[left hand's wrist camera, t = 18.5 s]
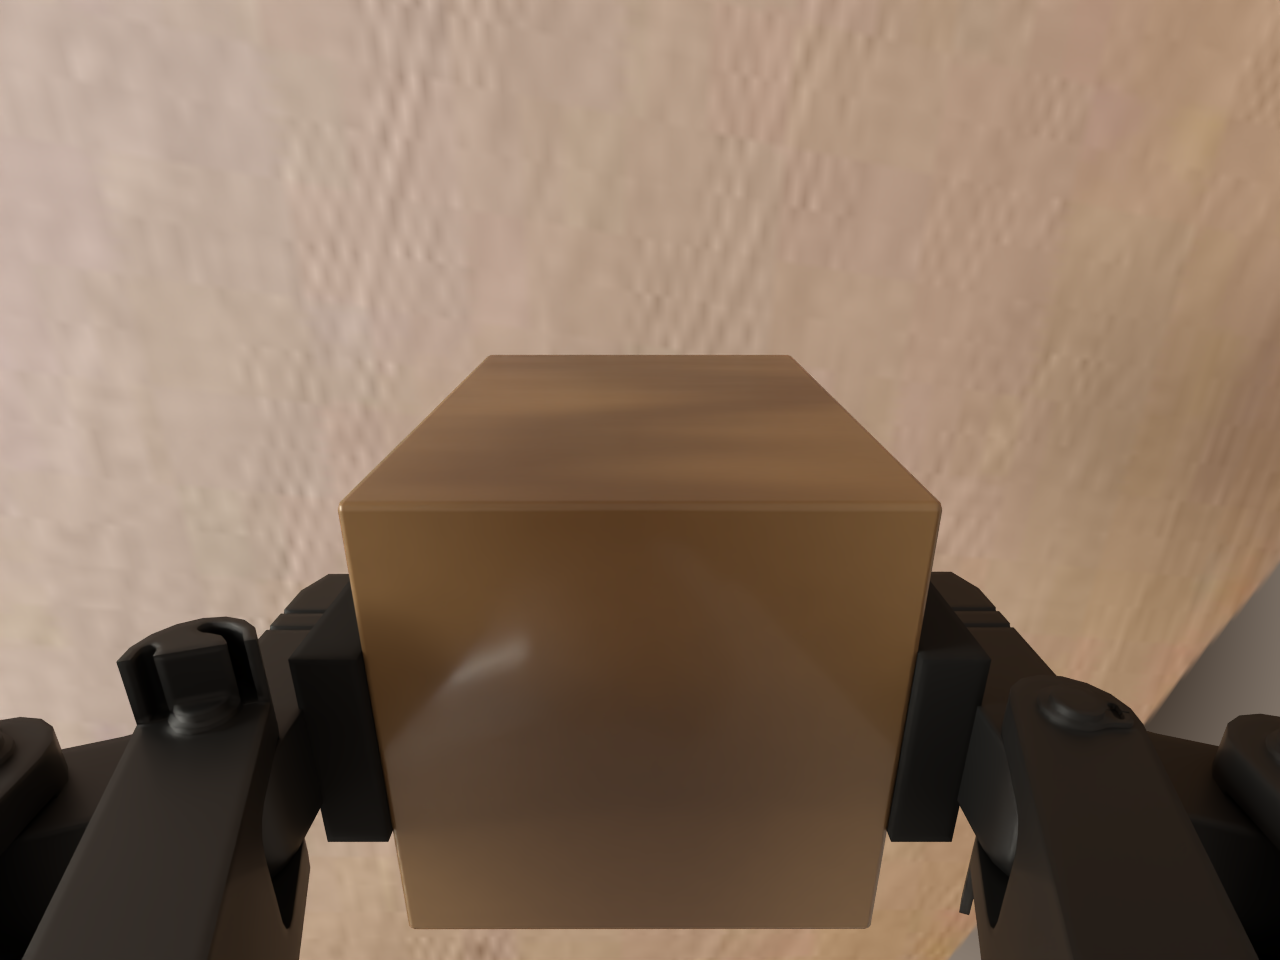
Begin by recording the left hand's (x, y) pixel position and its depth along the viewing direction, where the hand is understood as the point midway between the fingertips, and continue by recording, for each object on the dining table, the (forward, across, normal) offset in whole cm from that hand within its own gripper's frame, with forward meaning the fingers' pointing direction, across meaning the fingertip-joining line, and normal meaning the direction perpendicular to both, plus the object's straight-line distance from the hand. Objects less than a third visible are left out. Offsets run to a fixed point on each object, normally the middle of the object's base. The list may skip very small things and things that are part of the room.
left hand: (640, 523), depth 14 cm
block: (+1, 0, 0) cm, 1 cm away
